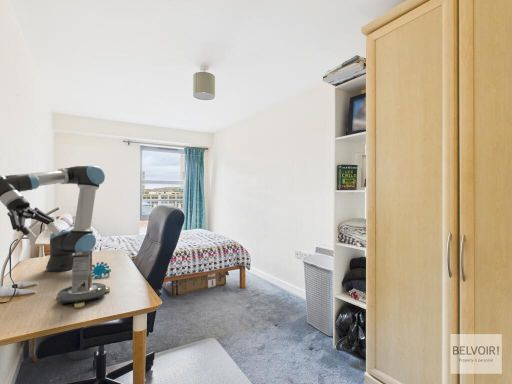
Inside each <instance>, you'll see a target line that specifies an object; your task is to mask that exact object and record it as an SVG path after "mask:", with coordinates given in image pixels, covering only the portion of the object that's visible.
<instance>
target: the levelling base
mask: <svg viewBox="0 0 512 384" xmlns="http://www.w3.org/2000/svg"><path fill="white" fill-rule="evenodd" d="M110 292H111V287H110V286H107V285H106V284H104V283H100V282H92V286H91V288H90V290H89V291H88V292H80V293H72V285H71V286H68V287H66V288H63V289H60V291H59V292H58V293H57V294H56V297H55V299H56V300H57V301H59V302H61V306H67V305H70V304H71V303H74V304H73V306H74V310H82V309H83V308H85V307H86V302H87V301H89V300H92V301H100V300H101V298H102V296H103V295H105V294H107V293H110ZM85 301H86V302H85Z"/></svg>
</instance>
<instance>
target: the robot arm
mask: <svg viewBox="0 0 512 384" xmlns="http://www.w3.org/2000/svg"><path fill="white" fill-rule="evenodd" d="M105 175H106V174H105V173H104V170H103V169H102V168H101V167H100V166H96V165H78V166H77V165H76V166H70V167H64V168H59V169H57V170H52V171H51V170H50V171H39V172H33V173H32V172H31V173H21V174H19V173H18V174H10V175H4V174H2V173H0V202H1V203H2V205H3V206H4V207H6V209H7V210H8V212H7V213H6V214H7V216H8V217H9V220H10V224H11V229H12V230H13V231H17V232H21V233H22V234H23V235H24V236H26V238H27V239H28V240H29V241H30V242H34V241H35V240H36V239H37V238H38V236H37V235H36V234H35V233H34V232H33V231H32V229H31V228H29V226H28V225H25V224H26V220H27V219H28V220H29V219H31V220H36V221H38V222H40V223H42V224H44V225H46V227H47V228H48V229H49V230H50V231H51V234H50V236H49V257H48V258H49V259H48V261H47V264H46V267H45V271H46V272H49V273H51V272H52V273H57V272H65V271H69V270H72V256H73V255H74V254H75V253H76V252H79V251H93V249H94V247H95V245H96V244H97V238H96V236H95V234H93V232H94V230H93V229H92V228H91V226H92V222H93V221H92V220H93V212H94V206H95V200H96V191H97V190H99V188H100V185H102V184H103V183H104V182H105V179H106V177H105ZM56 184H60V185H68V184H69V185H77V187H78V188H79V190H78V191H79V193H78V199H77V203H76V204H77V206H76V213H75V219H74V224H73V225H74V226H73V228H71V229H70V230H64V231H61V230H60V229H59V228H58V227H57V226H56V225H55V224H54V222H55V219H54V218H53V217H52V216H50V215H48V214H47V213H45V212H43V211H42V210H41V209H39V208H38V207H34V208H31V207H30V206H31V205H30V204H31V203H30V202H29V201H28V200H27V199H26V198H25V196H24V195H22V194H21V192H27V191H32V190H36V189H38V188H39V187H41V186H47V185H56Z"/></svg>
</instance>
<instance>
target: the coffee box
mask: <svg viewBox="0 0 512 384" xmlns="http://www.w3.org/2000/svg"><path fill="white" fill-rule="evenodd" d="M92 265H93V250H91V251H79V252H76V253H73V256H72V269H71V273H72V276H71V286H72V293H80V292H88V291H89V290H90V288H91V286H92V283H93V277H92V275H93V274H92V272H93V271H92V270H93V267H92Z"/></svg>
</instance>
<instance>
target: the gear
mask: <svg viewBox="0 0 512 384" xmlns="http://www.w3.org/2000/svg"><path fill="white" fill-rule="evenodd" d="M111 272H112V270H111V268H110V265H108V263H107V262H105V263H104V261H100V262H98V261H97V262H96V265H95V264H92V278H93V277H94V279H98V277H99V279H102V278H103V276H110V273H111Z"/></svg>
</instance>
